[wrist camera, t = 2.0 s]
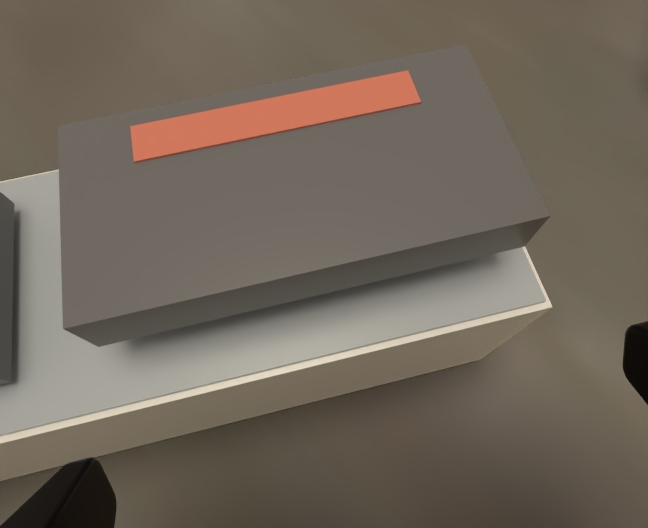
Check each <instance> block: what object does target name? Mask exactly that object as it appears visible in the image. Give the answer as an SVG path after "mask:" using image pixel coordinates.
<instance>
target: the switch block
mask: <svg viewBox="0 0 648 528" xmlns="http://www.w3.org/2000/svg"><path fill="white" fill-rule="evenodd" d="M0 192H1V193H2V194H4V195H5V196H6V197H7V198H8V199H10V200H11V201H12V202H13V203H14V259H13V316H12V373H11V382H9V383H5V384H1V385H0V481H3V480H7V479H11V478H15V477H19V476H23V475H27V474H31V473H35V472H39V471H43V470H47V469H51V468H55V467H59V466H63V465H66V464H67V463H69V462H72V461H76V460H80V459H85V458H89V457H93V458H94V457H98V456H102V455H106V454H110V453H114V452H118V451H122V450H126V449H130V448H134V447H138V446H142V445H146V444H149V443H153V442H157V441H161V440H165V439H169V438H173V437H177V436H181V435H185V434H189V433H193V432H197V431H201V430H205V429H209V428H213V427H217V426H221V425H225V424H229V423H232V422H236V421H240V420H244V419H248V418H252V417H256V416H260V415H264V414H268V413H272V412H276V411H280V410H284V409H288V408H292V407H296V406H300V405H304V404H308V403H312V402H316V401H319V400H323V399H327V398H331V397H335V396H339V395H343V394H347V393H351V392H355V391H359V390H363V389H367V388H371V387H375V386H379V385H383V384H387V383H391V382H395V381H399V380H402V379H406V378H410V377H414V376H418V375H422V374H426V373H430V372H434V371H438V370H442V369H446V368H450V367H454V366H458V365H462V364H466V363H470V362H474V361H478V360H481V359H482V358H484V357H485V356H486V355H488V354H489V353H491V352H492V351H493V350H495V349H496V348H497V347H499V346H500V345H501V344H503V343H504V342H506V341H507V340H508V339H510V338H511V337H512V336H514V335H515V334H516V333H518V332H519V331H521V330H522V329H523V328H525V327H526V326H527V325H529V324H530V323H531V322H533V321H534V320H536V319H537V318H538V317H540V316H541V315H542V314H544V313H545V312H546V311H548V310H549V309H551V308H552V305H551V303H550V301H549V298H548V296H547V294H546V292H545V290H544V287H543V285H542V283H541V281H540V279H539V276H538V274H537V272H536V270H535V268H534V265H533V263H532V261H531V259H530V257H529V254H528V252H527V250H526V248H525V246H524V247H521V248H517V249H512V250H508V251H504V252H500V253H495V254H491V255H487V256H483V257H478V258H474V259H470V260H466V261H461V262H457V263H453V264H449V265H444V266H440V267H436V268H432V269H427V270H423V271H419V272H415V273H410V274H406V275H402V276H398V277H393V278H389V279H385V280H381V281H376V282H372V283H368V284H364V285H360V286H355V287H351V288H347V289H343V290H338V291H334V292H330V293H326V294H321V295H317V296H313V297H309V298H304V299H300V300H296V301H292V302H287V303H283V304H279V305H275V306H270V307H266V308H262V309H258V310H253V311H249V312H245V313H241V314H236V315H232V316H228V317H224V318H220V319H215V320H211V321H207V322H203V323H198V324H194V325H190V326H186V327H181V328H177V329H173V330H169V331H164V332H160V333H156V334H152V335H147V336H143V337H139V338H135V339H130V340H126V341H122V342H118V343H113V344H109V345H105V346H101V347H97V346H95V345H93V344H91V343H90V342H88V341H86V340H84V339H82V338H80V337H78V336H76V335H74V334H72V333H70V332H68V331H66V330H64V329H63V314H62V275H61V236H60V198H59V170H55V171H50V172H45V173H40V174H35V175H31V176H26V177H21V178H16V179H11V180H6V181H2V182H0Z"/></svg>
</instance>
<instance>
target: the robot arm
mask: <svg viewBox="0 0 648 528" xmlns="http://www.w3.org/2000/svg"><path fill="white" fill-rule="evenodd" d="M623 370H624V373H625V376H626V378H627V379H628V381H629V382H630V383H631V385H632V386H633V387H634V388H635V390H636V391H637V392H638V393H639V395H640V396H641V397H642V398H643V400H644V401H645V402H646V403H647V405H648V321H647V322H643V323H639V324H635V325H631V326H630V327H628V329H627V330H626V332H625V342H624V354H623ZM115 516H116V497H115V494H114V491H113V489H112V487H111V485H110V483H109V480H108V478H107V476H106V474H105V472H104V470H103V468H102V466H101V464H100V462H99V461H98V460H97V459H96V458H93V457H89V458H85V459H80V460H76V461H72V462H69V463H67V464H66V465H64V466H63V467H62V468H61V469H60V470H59V471H58V472H57V473H56V474H55V475H54V476H53V477H52V478H51V479H50V480H48V481H47V482H46V483H45V484H44V485H43V486H42V487H41V488H40V489H39V490H38V491H37V492H36V493H35V494H34V495H33V496H32V497H31V498H29V499H28V500H27V501H26V502H25V503H24V504H23V505H22V506H21V507H20V508H19V509H18V510H17V511H16V512H15V513H14V514H13V515H11V516H10V517H9V518H8V519H7V520H6V521H5V522H4V523H3V524H2V525H1V526H0V528H114V525H115Z"/></svg>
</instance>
